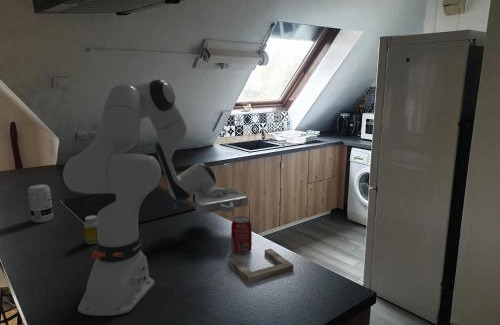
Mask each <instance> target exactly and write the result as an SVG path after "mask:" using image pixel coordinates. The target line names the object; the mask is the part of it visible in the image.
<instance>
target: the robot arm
mask: <svg viewBox="0 0 500 325" xmlns="http://www.w3.org/2000/svg"><path fill="white" fill-rule="evenodd" d="M175 101H176V96H175V92H174V89H173V88H172V86H171V85H170V83H169V82H167V81H165V80H164V79H155V80H154V79H153V80H151V81H148V82H144V83H141V84H136V85H134V86H133V85H131V84H125V83H122V84H117V85H114V87H112V88H111V90H110V91H109V93H108V95H107V98H106V100H105V103H104V106H103V111H102V115H101V121H100V124H99V128H98V131H97V134H96V136H95V137H94V139H93V141H91V143H90V144H88V146H87V147H86V148H84V149H83V150H82V151H80V153H77V154H76V155H74V156H72V157H70V158H69V159H68V160H67V161H66V163H65V164H64V168H63V172H62V176H63V177H62V178H63V181H64V184H65V185H66V187H67V188H68V189H69V190H70V191H71V192H75V193H81V194H87V195H92V194H93V195H98V194H99V195H101V194H104V195H105V194H114V195H115V201H114V202H111V203H109V204H108V205H106V206H104V207H103V208H102V209H100V210H99V211H98V212H97V215H96V216H97V217H96V226H97V236H98V241H97V243H96V246H95V250H93V251H92V253H91V258H92V259H94V263H93V265H92V268H91V272H90V274H89V277H88V281H87V282H86V290H85V291H84V293H83V295H82V298H81V301H80V302H79V305H78V307H77V312H79V313H81V314H83V315H87V316H97V317H102V316H104V317H106V316H107V317H109V316H117V315H123V314H126V313H130V311H132V310H133V309H134V307H136V306H137V304H138V303H139V302H140V301H141V300H142V298H143V297H145V295H146V294H147V293H148V292H149V291H150V290H151V289H152V288H153V286H155V280H154V279H153V278H151V277H150V273H149V266H148V265H149V264H148V258H147V256H146V255H145V254H144V253H143V252H142V240H141V236H140V234H139V212H140V208H141V205H142V202H143V201H144V200H145V198H146V197H147V196H148V195H149V193H151V192H153V191H154V190H155V189H156V188H157V187H158V185H159V183H160V182H161V178H162V173H163V175H164V176H163V177H164V178H165V181H166V185H167V188H168V192H169V194H170V196H171V198H173V199H174V200H175V201H178V202H186V201H187V200H188V199H189V198H191V197H192V196H193V195H194V196H195V197H196V200H195V201H194V202H192V207H194V208H196V209H195V210H196V211H197V213H199V214H200V215H205V214H210V213H215V212H221V211H223V212H226V213H229V212H234V211H235V209H236V208H241V207H242V208H243V207H246V206H248V204H249V197H248V195H246V194H245V193H243V192H241V191H238V190H237V188H234V187H227V188H226V187H218V186H216V182H217V181H216V180H217V179H216V175H215V172H214V171H213V170H212V169H211V167H209V165H207V164H206V163H203V162H199V161H198V162H196V163H195V164H193V165H191V166H190V167H189V168H187V169H186V170H184V171H183V172H181V173H180V174H178V175H177V173H176V170H175V167H174V164H173V161H172V158H173V156H174V153H175V151H176V149H177V148H178V147H179V145H180V144H181V143H182V142H183V141H184V139H185V137H186V134H187V124H186V122H185V119H184V118H183V115H182V113H181V112H180V110H179V109H178V107H177V105H176V103H175ZM146 118H149V120H150V123H151V124H152V127H153V128H154V130H155V133H156V143H155V144H154V149H155V152H156V156H157V158H158V160H157V159H156V157H155V156H153V155H148V154H144V153H138V152H137V153H136V152H135V153H130V152H129V153H125V152H127V151H129V150H131V149H132V148H134V147H135V146H136V144H137V143H138V141H139V138H140V132H141V131H140V130H141V125H142V124H141V123H142V120H143V119H146Z"/></svg>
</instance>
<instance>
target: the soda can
mask: <svg viewBox="0 0 500 325" xmlns="http://www.w3.org/2000/svg"><path fill="white" fill-rule="evenodd" d="M230 226H231V227H230V231H231V233H230V237H231V250H232V252H233V253H235V254H236V255H240V256H244V255H248V254H249V253H250V252H251V251H252V245H253V244H252V243H253V242H252V235H253V234H252V232H253V231H252V230H253V229H252V223H251V219H250V218H249V216H248V217H247V216H243V215H242V216H241V215H239V216H236V217H233V219H232V222H231V224H230Z"/></svg>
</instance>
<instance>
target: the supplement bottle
mask: <svg viewBox="0 0 500 325" xmlns="http://www.w3.org/2000/svg"><path fill="white" fill-rule="evenodd" d="M96 217H97V215H87V216H86V217H85V218H84V221H85V222H84V224H83V231H84V241H85V243H86V244H88V245H95V244H97V241H98V236H97V226H96Z"/></svg>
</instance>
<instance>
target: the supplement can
mask: <svg viewBox="0 0 500 325" xmlns="http://www.w3.org/2000/svg"><path fill="white" fill-rule="evenodd" d="M27 196H28V202H29V209H30V210H29V211H30V218H31V221H32V222H34V223H38V224H39V223H45V222H49V221H51V220H52V219H53V218H54V211H53V204H52V196H51V188H50V186H48V184H46V183H45V184H44V183H42V184H34V185H31V186H29V187H28V190H27Z"/></svg>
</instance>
